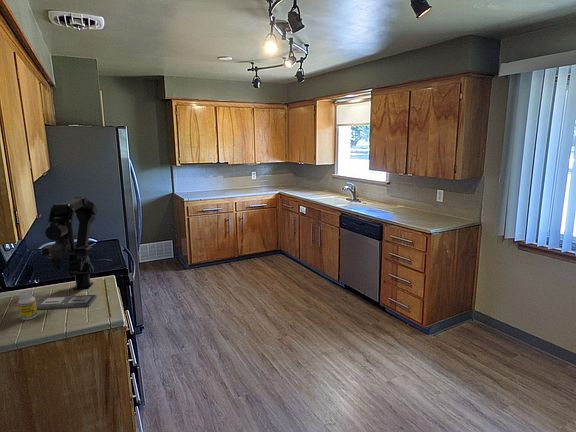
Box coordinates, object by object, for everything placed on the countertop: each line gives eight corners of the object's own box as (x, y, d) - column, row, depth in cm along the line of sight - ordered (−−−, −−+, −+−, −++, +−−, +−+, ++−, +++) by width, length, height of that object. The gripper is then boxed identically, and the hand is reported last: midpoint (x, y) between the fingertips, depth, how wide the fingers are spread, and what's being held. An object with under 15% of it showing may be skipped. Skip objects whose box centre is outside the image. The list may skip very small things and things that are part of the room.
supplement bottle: (37, 312, 146) (34, 289, 144) (37, 317, 142) (34, 293, 140) (20, 315, 143) (17, 292, 142) (20, 321, 139) (16, 297, 137)
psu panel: (45, 300, 158) (45, 296, 157) (96, 297, 160) (96, 294, 160) (34, 309, 149) (34, 306, 149) (88, 306, 152) (88, 303, 151)
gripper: (29, 238, 147) (34, 276, 150) (76, 239, 147) (80, 277, 150) (47, 232, 158) (52, 267, 161) (91, 232, 158) (95, 268, 161)
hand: (69, 270), depth 158 cm, fingers open, 9 cm apart
